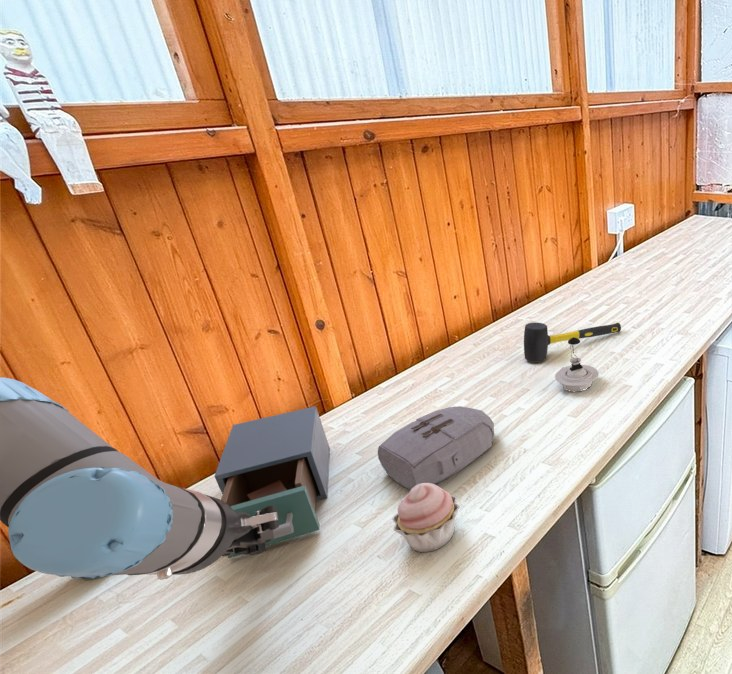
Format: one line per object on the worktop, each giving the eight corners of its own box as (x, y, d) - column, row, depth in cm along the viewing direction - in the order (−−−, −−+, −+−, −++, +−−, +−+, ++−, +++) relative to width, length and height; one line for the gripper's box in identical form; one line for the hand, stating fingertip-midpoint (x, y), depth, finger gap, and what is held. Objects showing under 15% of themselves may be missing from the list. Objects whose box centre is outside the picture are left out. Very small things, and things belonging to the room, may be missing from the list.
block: (264, 530, 78) (255, 507, 76) (256, 516, 81) (246, 494, 79) (297, 514, 81) (289, 492, 79) (288, 501, 84) (279, 479, 82)
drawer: (318, 547, 76) (302, 506, 73) (222, 579, 71) (201, 536, 68) (323, 475, 91) (310, 438, 88) (244, 497, 86) (228, 459, 83)
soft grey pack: (422, 504, 85) (514, 443, 100) (411, 463, 82) (508, 406, 97) (372, 471, 93) (464, 419, 108) (360, 433, 90) (457, 384, 105)
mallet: (613, 328, 150) (612, 297, 146) (625, 335, 146) (624, 303, 142) (520, 358, 134) (516, 324, 130) (531, 367, 129) (527, 331, 125)
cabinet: (327, 497, 87) (310, 451, 83) (236, 524, 82) (214, 476, 78) (329, 448, 100) (315, 405, 96) (251, 468, 95) (232, 424, 91)
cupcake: (440, 567, 74) (426, 513, 70) (385, 554, 76) (369, 501, 72) (477, 520, 82) (466, 470, 78) (426, 510, 84) (414, 460, 80)
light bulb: (584, 324, 122) (544, 334, 117) (604, 339, 114) (562, 350, 109) (587, 370, 127) (549, 382, 122) (606, 387, 119) (566, 400, 114)
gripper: (87, 601, 46) (201, 591, 67) (262, 546, 52) (318, 552, 72) (83, 517, 48) (195, 532, 69) (252, 472, 54) (309, 499, 74)
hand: (258, 542), depth 70 cm, fingers closed
